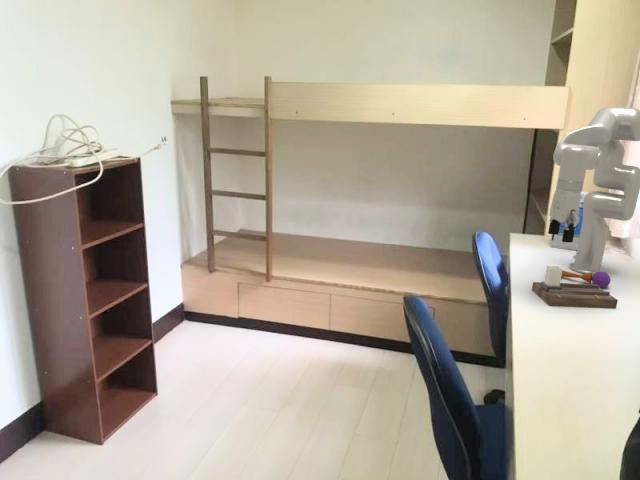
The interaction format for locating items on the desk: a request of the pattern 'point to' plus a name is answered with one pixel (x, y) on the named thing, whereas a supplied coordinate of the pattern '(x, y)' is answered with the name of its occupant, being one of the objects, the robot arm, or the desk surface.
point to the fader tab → (552, 278)
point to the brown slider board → (576, 296)
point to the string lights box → (557, 238)
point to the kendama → (591, 278)
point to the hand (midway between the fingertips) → (559, 237)
